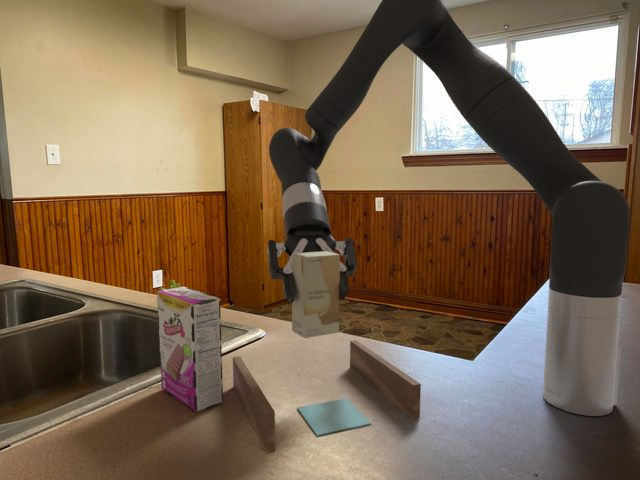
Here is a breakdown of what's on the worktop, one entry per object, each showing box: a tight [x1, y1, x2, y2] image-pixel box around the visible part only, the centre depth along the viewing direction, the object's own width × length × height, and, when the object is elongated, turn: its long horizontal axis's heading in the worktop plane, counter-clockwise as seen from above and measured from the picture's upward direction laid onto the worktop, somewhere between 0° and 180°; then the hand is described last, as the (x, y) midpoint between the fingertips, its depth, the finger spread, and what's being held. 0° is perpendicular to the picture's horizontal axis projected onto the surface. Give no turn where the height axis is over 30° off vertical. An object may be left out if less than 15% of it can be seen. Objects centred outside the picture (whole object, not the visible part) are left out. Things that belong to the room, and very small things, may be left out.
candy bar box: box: [156, 286, 224, 413], centre depth 69 cm, size 11×5×16 cm, turn 45°
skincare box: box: [291, 251, 341, 339], centre depth 68 cm, size 6×4×12 cm
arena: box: [232, 339, 422, 453], centre depth 68 cm, size 22×20×5 cm
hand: (317, 298), depth 66 cm, fingers closed on skincare box, 7 cm apart
